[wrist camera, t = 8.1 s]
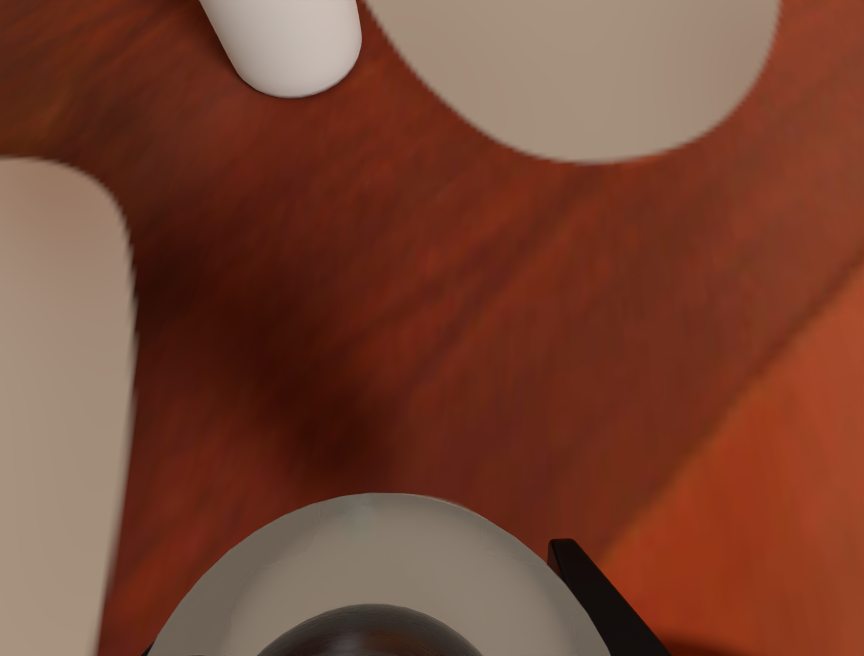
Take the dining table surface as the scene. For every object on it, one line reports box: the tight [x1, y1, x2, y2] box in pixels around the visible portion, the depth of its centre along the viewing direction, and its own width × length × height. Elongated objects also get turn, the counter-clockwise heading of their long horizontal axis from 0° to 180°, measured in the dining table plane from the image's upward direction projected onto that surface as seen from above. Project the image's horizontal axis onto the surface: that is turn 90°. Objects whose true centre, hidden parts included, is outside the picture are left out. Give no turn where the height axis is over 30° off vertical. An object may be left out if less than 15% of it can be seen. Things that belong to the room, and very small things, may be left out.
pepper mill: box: [147, 493, 611, 656], centre depth 9 cm, size 5×5×13 cm
